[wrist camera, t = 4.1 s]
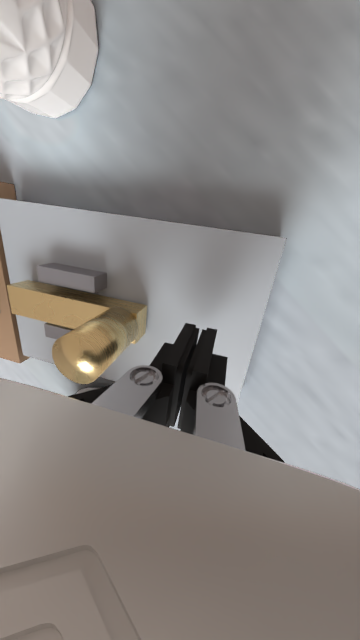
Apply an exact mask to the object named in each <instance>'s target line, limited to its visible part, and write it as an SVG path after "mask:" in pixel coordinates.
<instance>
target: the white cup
mask: <svg viewBox="0 0 360 640" xmlns="http://www.w3.org/2000/svg"><path fill="white" fill-rule="evenodd" d="M97 55H98V40H97V29H96V18H95V9H94V6H93V4H92V1H91V0H0V98H2V99H5V100H7V101H9V102H11V103H13V104H15V105H17V106H19V107H21V108H23V109H25V110H27V111H29V112H31V113H33V114H36V115H41V116H46V117H51V118H58V117H60V116H62V115H64V114H66V113H68V112H70V111H72V110H74V109H76V108H77V106H78V105H79V103H80V102H81V100H82V99H83V97H84V96H85V94H86V92H87V91H88V89H89V88H90V86H91V84H92V79H93V74H94V69H95V65H96V60H97Z"/></svg>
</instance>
